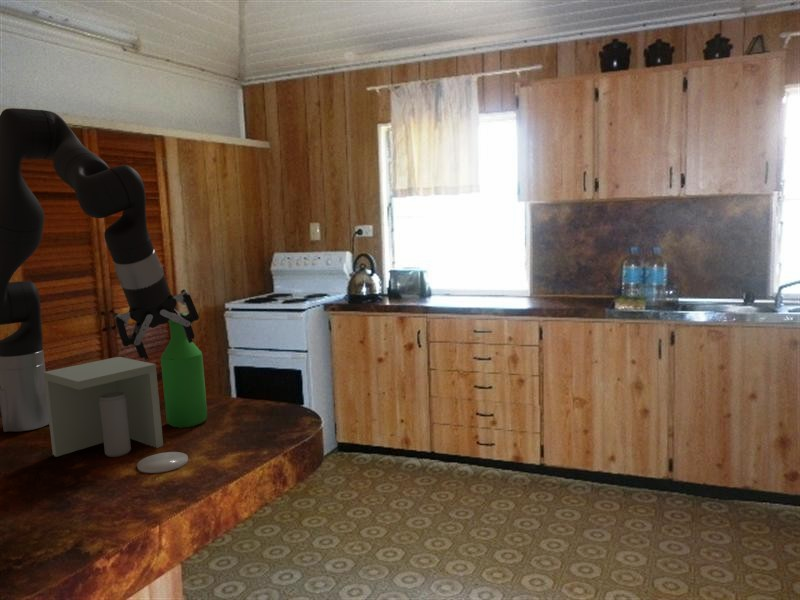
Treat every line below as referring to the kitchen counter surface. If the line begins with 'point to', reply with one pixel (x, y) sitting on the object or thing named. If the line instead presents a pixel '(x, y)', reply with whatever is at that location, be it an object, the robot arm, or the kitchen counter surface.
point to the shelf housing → (79, 402)
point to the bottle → (183, 380)
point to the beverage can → (114, 424)
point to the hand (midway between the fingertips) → (168, 349)
